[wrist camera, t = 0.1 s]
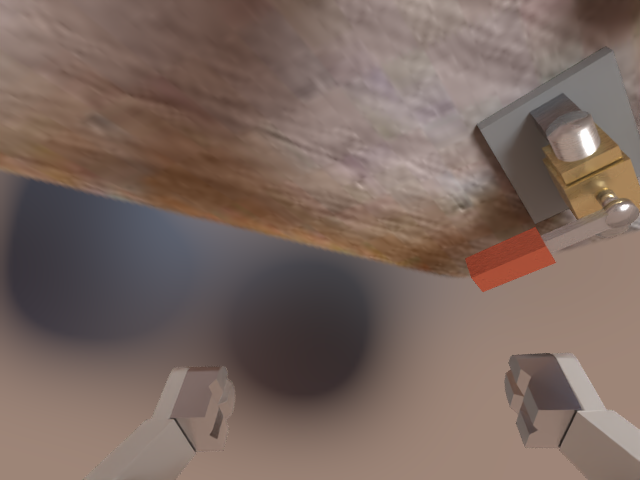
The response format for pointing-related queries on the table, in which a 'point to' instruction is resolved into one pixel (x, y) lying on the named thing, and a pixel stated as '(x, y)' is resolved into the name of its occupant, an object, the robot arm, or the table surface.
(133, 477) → the robot arm
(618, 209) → the valve lever
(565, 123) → the pipe and valve
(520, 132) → the slate plate
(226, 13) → the table surface
